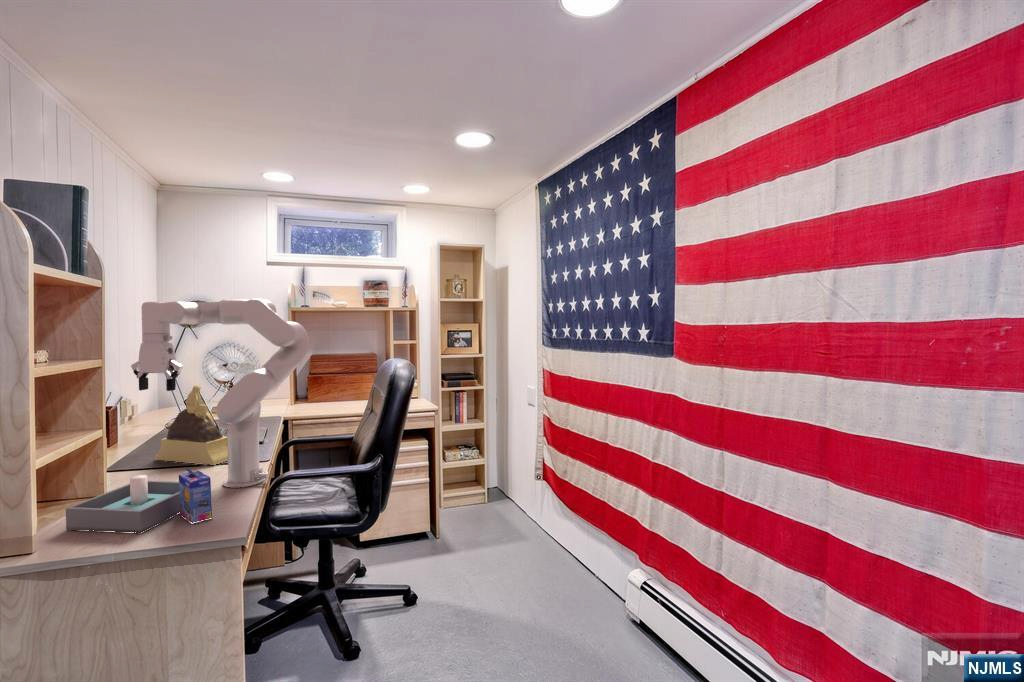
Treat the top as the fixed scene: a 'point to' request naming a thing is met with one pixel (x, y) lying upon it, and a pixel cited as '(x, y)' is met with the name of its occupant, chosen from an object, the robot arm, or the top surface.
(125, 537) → the top surface
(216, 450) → the statue on rock pedestal
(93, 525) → the storage box
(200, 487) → the ink cartridge box
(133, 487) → the plug
